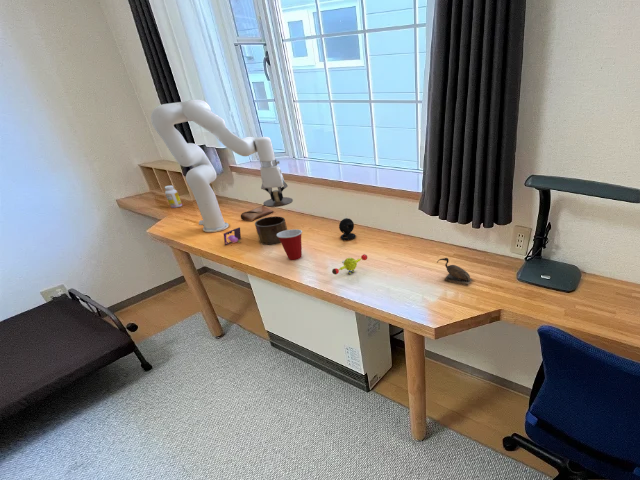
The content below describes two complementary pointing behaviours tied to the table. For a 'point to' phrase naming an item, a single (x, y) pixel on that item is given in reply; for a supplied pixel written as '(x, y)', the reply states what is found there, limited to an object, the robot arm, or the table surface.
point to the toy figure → (349, 264)
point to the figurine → (456, 274)
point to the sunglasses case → (255, 213)
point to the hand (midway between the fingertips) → (277, 200)
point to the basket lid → (277, 200)
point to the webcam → (347, 229)
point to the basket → (270, 229)
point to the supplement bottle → (173, 197)
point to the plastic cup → (291, 243)
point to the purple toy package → (233, 238)
